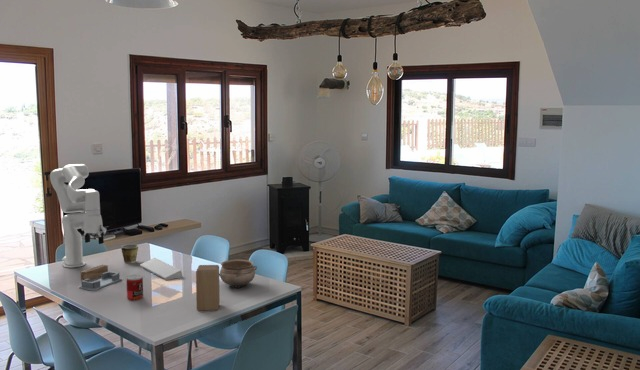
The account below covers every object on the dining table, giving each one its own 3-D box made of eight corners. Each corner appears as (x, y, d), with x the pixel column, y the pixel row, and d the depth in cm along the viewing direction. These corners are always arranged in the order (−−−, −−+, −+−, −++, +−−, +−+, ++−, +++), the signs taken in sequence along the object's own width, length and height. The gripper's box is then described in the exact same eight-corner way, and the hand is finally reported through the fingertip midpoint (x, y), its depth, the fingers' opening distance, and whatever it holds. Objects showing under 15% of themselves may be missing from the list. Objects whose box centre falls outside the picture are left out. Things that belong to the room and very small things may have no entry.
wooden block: (199, 304, 274) (198, 264, 271) (219, 303, 274) (219, 264, 272) (196, 311, 264) (195, 270, 261) (217, 311, 265) (217, 270, 262)
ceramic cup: (141, 262, 347) (141, 246, 346) (126, 265, 340) (126, 249, 339) (131, 258, 356) (130, 242, 355) (116, 261, 349) (115, 245, 348)
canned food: (134, 301, 276) (133, 280, 275) (123, 298, 280) (122, 277, 279) (146, 297, 282) (146, 276, 281) (135, 294, 287) (135, 273, 285)
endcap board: (79, 288, 295) (78, 281, 295) (107, 277, 315) (107, 270, 314) (93, 290, 292) (93, 283, 291) (122, 279, 311) (121, 273, 311)
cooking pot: (247, 277, 319) (247, 256, 317) (266, 285, 305) (266, 263, 303) (208, 285, 303) (208, 263, 301) (226, 294, 288) (226, 271, 287)
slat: (81, 280, 310) (80, 271, 309) (102, 272, 324) (102, 264, 324) (86, 281, 308) (86, 272, 308) (107, 273, 323) (107, 265, 322)
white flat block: (167, 285, 312) (183, 277, 318) (164, 277, 310) (180, 270, 316) (142, 271, 338) (157, 264, 343) (139, 264, 336) (155, 257, 342)
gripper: (75, 212, 312) (77, 243, 314) (100, 214, 305) (101, 245, 307) (86, 210, 319) (87, 240, 321) (110, 212, 312) (111, 242, 314)
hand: (94, 242), depth 314 cm, fingers open, 9 cm apart
